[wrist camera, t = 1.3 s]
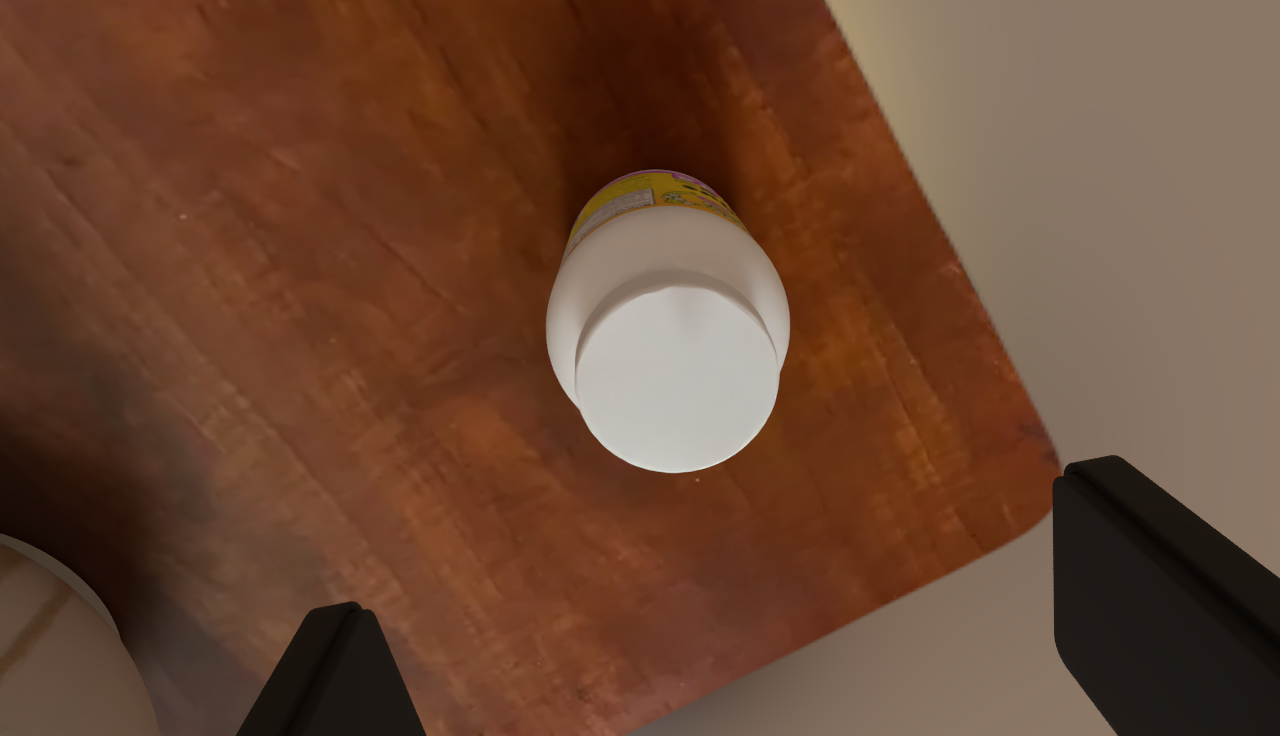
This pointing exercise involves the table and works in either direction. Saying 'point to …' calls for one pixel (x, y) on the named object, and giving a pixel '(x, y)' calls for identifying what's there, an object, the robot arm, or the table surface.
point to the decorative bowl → (62, 655)
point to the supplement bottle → (667, 323)
